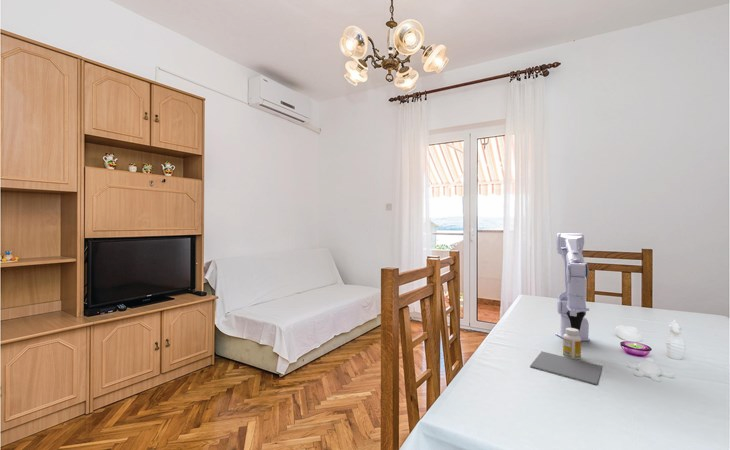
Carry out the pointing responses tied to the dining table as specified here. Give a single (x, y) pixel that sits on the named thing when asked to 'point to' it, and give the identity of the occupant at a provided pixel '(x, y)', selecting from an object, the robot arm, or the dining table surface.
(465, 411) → the dining table surface
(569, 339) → the supplement bottle
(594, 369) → the slate mat
